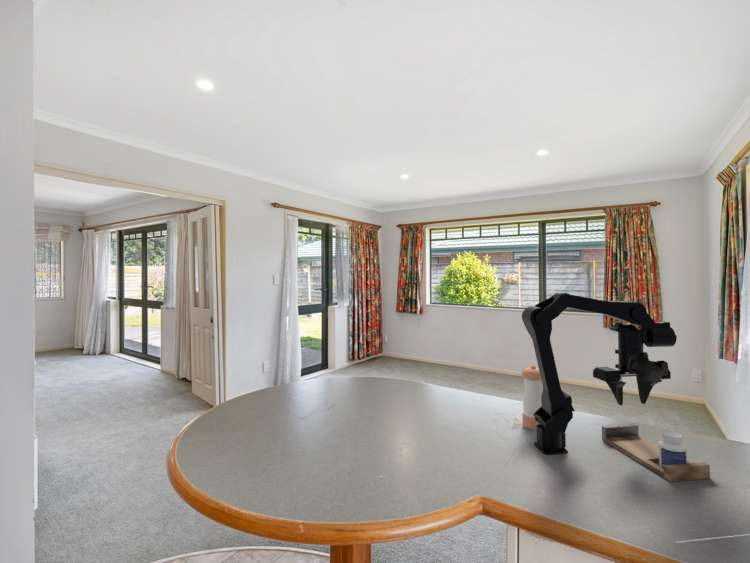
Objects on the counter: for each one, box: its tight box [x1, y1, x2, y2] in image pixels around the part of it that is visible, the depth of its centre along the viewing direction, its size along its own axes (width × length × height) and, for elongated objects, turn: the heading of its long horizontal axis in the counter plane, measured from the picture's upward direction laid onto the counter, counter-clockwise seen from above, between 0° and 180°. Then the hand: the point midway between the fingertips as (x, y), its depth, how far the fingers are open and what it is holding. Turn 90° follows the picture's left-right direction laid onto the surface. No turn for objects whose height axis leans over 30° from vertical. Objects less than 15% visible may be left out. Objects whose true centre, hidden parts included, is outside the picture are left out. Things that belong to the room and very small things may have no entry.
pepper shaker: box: [521, 364, 543, 430], centre depth 121 cm, size 7×7×19 cm
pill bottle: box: [658, 430, 688, 468], centre depth 92 cm, size 5×5×9 cm
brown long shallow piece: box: [601, 423, 711, 482], centre depth 98 cm, size 10×22×4 cm, turn 5°
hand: (631, 404), depth 104 cm, fingers open, 6 cm apart
